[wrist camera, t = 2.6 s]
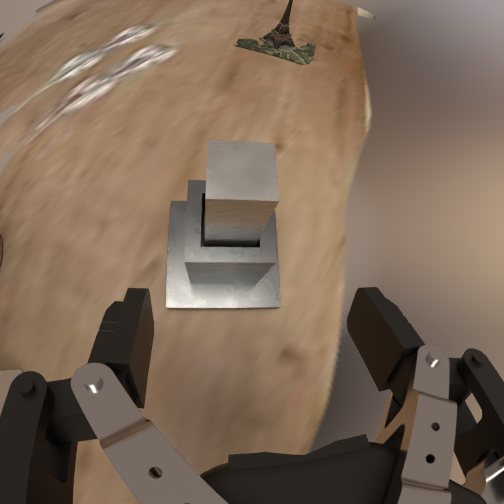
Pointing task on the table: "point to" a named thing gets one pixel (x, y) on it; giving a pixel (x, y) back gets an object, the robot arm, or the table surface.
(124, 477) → the robot arm
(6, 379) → the milk carton
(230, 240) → the column
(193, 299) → the jack stand base
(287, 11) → the eiffel tower figurine
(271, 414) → the table surface
